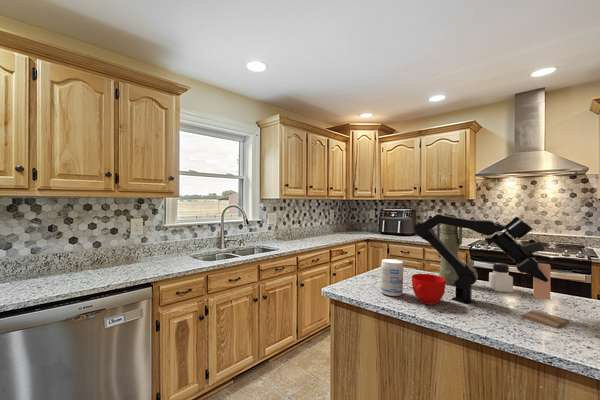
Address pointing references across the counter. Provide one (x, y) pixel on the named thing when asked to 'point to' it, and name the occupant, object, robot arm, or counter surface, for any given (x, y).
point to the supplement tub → (392, 277)
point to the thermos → (453, 243)
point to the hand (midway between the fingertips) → (546, 279)
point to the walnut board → (545, 318)
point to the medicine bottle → (501, 278)
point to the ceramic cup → (428, 287)
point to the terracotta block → (542, 283)
